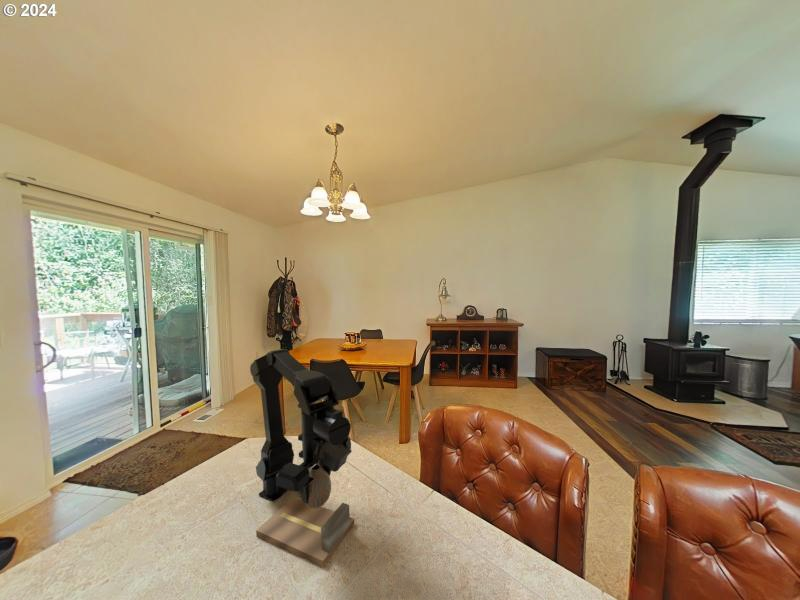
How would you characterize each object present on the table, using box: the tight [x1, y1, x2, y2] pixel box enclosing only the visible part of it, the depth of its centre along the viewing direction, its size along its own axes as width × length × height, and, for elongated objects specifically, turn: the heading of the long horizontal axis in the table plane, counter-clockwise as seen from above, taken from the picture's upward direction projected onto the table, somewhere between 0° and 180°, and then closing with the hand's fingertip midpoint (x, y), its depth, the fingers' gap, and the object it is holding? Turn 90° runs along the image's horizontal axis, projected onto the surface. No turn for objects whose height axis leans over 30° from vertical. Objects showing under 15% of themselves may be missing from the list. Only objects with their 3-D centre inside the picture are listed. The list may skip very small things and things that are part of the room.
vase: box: [305, 464, 332, 508], centre depth 68 cm, size 7×7×9 cm
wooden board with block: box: [255, 496, 355, 569], centre depth 69 cm, size 20×12×6 cm, turn 66°
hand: (316, 493), depth 68 cm, fingers closed on vase, 6 cm apart
